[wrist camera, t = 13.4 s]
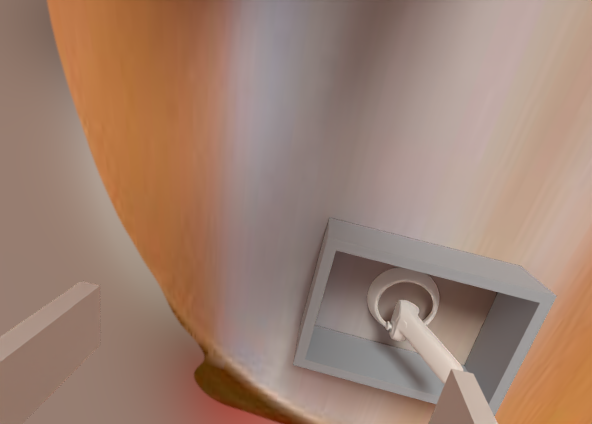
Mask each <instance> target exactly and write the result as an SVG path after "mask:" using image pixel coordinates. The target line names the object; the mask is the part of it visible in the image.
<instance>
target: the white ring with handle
mask: <svg viewBox="0 0 592 424" xmlns="http://www.w3.org/2000/svg"><path fill="white" fill-rule="evenodd" d="M401 282H411V283H415V284H418V285H420V286H422V287H423V288H425V289H426V290H427V291H428V293H429V294H430V296H431V298H432V301H433V307H432V310H431V312H430V314H429V315H428V316H427V317H426V318H425V319H424V320H423V321H422V320H421V319H420V318H419V316H418V314H419V308H418V307H417V306H416V305H415V304H414V303H411V302H410V301H407V300H398V301H397V303H396V306H395V309H394V312H393V315H392V318H391V322H389V321H387V322H385V321H384V320H383V319H382V318H381V316H380V314H379V311H378V301H379V298H380V296H381V294H382V293H383V292H384V291H385V290H386V289H387V288H388V287H390V286H391V285H394V284H396V283H401ZM367 304H368V308H369V310H370V312H371V314H372V316H373V317H374V318H375V319H376V320H377V321H378V322H379V323H380V324H381V325H383V326H384V327H386V330H387V331H388V330H389V333H390V337H391V338H392V339H394V340H396V341H404V340H406V339H407V340H408V341H409V342H410V344H411V345H412V346H413V347H414V349H415V350H416V351H417V352H418V354H419V355H420V356H421V357H422V358H423V360H424V361H425V362H426V363H427V365H428V366H429V367H430V368H431V370H432V371H433V372H434V373H435V374H436V376H437V377H438V378H439V379H440V380H441V381H442V383H444V384H445V383H446V380H447V378H448V375H449V373H450V371H451V368H452V369H456V370H460V371H463V368H462V366H461V365H460V363H459V362H458V361H457V360H456V359H455V357H454V356H453V355H452V354H451V353H450V352H449V351H448V349H447V348H446V347H445V346H444V345H443V344H442V343H441V342H440V340H439V339H438V338H437V337H436V336H435V335H434V334H433V333H432V331H431V330H430V329H429V328H428V327H427V325H428V324H429V323H430V322H431V321H432V319H433V318H434V317H435V315H436V312H437V310H438V306H439V291H438V288H437V286H436V284H435V282H434V281H433V280H432V278H431V277H430V276H428V275H427V274H425V273H422V272H418V271H414V270H410V269H406V268H402V267H397V268H392V269H389V270H387V271H384V272H383V273H381V274H380V275H379V276H377V277H376V278H375V279H374V281H373V282H372V284H371V285H370V287H369V290H368V294H367Z"/></svg>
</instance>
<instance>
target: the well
mask: <svg viewBox="0 0 592 424" xmlns="http://www.w3.org/2000/svg"><path fill="white" fill-rule="evenodd" d="M336 251H340V252H344V253H348V254H352V255H355V256H359V257H363V258H367V259H371V260H375V261H379V262H383V263H387V264H390V265H394V266H398V267H402V268H406V269H410V270H414V271H418V272H422V273H425V274H429V275H433V276H437V277H441V278H445V279H449V280H453V281H456V282H460V283H464V284H468V285H472V286H476V287H480V288H484V289H488V290H491V291H495V292H498V293H497V295H496V298H495V300H494V302H493V304H492V306H491V308H490V311H489V313H488V315H487V317H486V319H485V322H484V324H483V326H482V328H481V330H480V333H479V335H478V337H477V339H476V341H475V343H474V346H473V348H472V350H471V352H470V354H469V357H468V359H467V361H466V363H465V365H461V366H462V368H463V371H464V372H469V373H473V374H474V376H475V378H476V380H477V382H478V384H479V386H480V388H481V390H482V392H483V395H484V397H485V399H486V401H487V403H488V405H489V407H490V409H491V411H492V413H493V415H494V416H495V414H496V412H497V410H498V409H499V407H500V405H501V403H502V401H503V399H504V397H505V395H506V393H507V391H508V389H509V387H510V385H511V383H512V382H513V380H514V378H515V376H516V374H517V372H518V370H519V368H520V366H521V364H522V362H523V360H524V358H525V356H526V354H527V353H528V351H529V349H530V347H531V345H532V343H533V341H534V339H535V337H536V335H537V333H538V331H539V329H540V327H541V325H542V324H543V322H544V320H545V318H546V316H547V314H548V312H549V310H550V308H551V306H552V304H553V302H554V300H555V298H556V295H555V294H554V293H553V292H551V291H550V290H549V289H548V288H547V287H545V286H544V285H543V284H542V283H541V282H539V281H538V280H537V279H536V278H535V277H533V276H532V275H531V274H530V273H529V272H527V271H526V270H525V269H524V268H523V267H521V266H519V265H515V264H511V263H507V262H503V261H499V260H495V259H491V258H487V257H483V256H479V255H475V254H471V253H467V252H463V251H459V250H455V249H452V248H448V247H444V246H440V245H436V244H432V243H428V242H424V241H420V240H416V239H412V238H408V237H404V236H400V235H396V234H392V233H388V232H384V231H380V230H376V229H372V228H369V227H365V226H361V225H357V224H353V223H349V222H345V221H341V220H337V219H333V218H329V221H328V225H327V228H326V232H325V236H324V240H323V243H322V247H321V251H320V254H319V258H318V262H317V265H316V269H315V273H314V277H313V280H312V284H311V288H310V291H309V295H308V299H307V302H306V306H305V310H304V314H303V317H302V321H301V325H300V328H299V334H298V339H297V345H296V351H295V356H294V362H293V365H295V366H298V367H302V368H306V369H309V370H313V371H317V372H320V373H324V374H328V375H331V376H335V377H338V378H342V379H346V380H349V381H353V382H357V383H360V384H364V385H368V386H371V387H375V388H378V389H382V390H386V391H389V392H393V393H397V394H400V395H404V396H408V397H411V398H415V399H418V400H422V401H426V402H429V403H433V404H437V402H438V399H439V397H440V395H441V392H442V390H443V387H444V385H445V384H444V383H442V381H441V380H440V379H439V378H438V377H437V376H436V374H435V373H434V372H433V371H432V370H431V368H430V367H429V366H428V365H427V363H426V362H425V361H424V360H423V358H422V357H421V356H420V355H419V354H418V353H416V352H412V351H408V350H405V349H401V348H397V347H393V346H390V345H386V344H382V343H378V342H375V341H371V340H367V339H364V338H360V337H356V336H352V335H349V334H345V333H341V332H338V331H334V330H330V329H326V328H323V327H319V326H315V323H316V319H317V316H318V312H319V309H320V305H321V302H322V298H323V295H324V291H325V288H326V284H327V281H328V277H329V274H330V270H331V267H332V263H333V260H334V256H335V253H336Z"/></svg>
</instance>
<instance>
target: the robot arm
mask: <svg viewBox="0 0 592 424" xmlns="http://www.w3.org/2000/svg"><path fill="white" fill-rule="evenodd" d="M99 346H100V285H95V284H91V283H87V282H83V281H80V282H79V283H78V284H76V285H75V286H73V287H72V288H70V289H69V290H67V291H66V292H65V293H63V294H62V295H61V296H59V297H57V298H56V299H54V300H53V301H52V302H50V303H49V304H47V305H46V306H44V307H43V308H41V309H40V310H39V311H37V312H36V313H34V314H33V315H31V316H30V317H28V318H27V319H26V320H24V321H22V322H21V323H20V324H18V325H17V326H15V327H14V328H12V329H11V330H9V331H8V332H7V333H5V334H4V335H2V336H1V337H0V424H23V423H24V422H25V421H26V420H27V419H28V417H30V416H31V414H32V413H33V412H35V411H36V410H37V409H38V408H39V406H40V405H41V404H42V403H43V402H44V401H45V400H46V399H47V398H48V397H49V396H50V395H51V394H52V393H53V392H54V391H55V390H56V389H57V388H58V387H59V386H60V385H61V384H62V383H63V382H64V381H65V380H66V379H67V378H68V377H69V376H70V375H71V374H72V373H73V372H74V371H75V370H76V369H77V368H78V367H79V366H80V365H81V364H82V363H83V362H84V361H85V360H86V359H87V358H88V357H89V356H90V355H91V354H92V353H93V352H94V351H95V350H96V349H97V348H98V347H99ZM429 424H498V423H497V421H496V419H495V417H494V415H493V413H492V411H491V409H490V407H489V405H488V403H487V401H486V399H485V397H484V395H483V392H482V390H481V388H480V386H479V384H478V382H477V380H476V378H475V376H474V374H473V373H469V372H464V371H460V370H456V369H452V368H451V371H450V373H449V375H448V378H447V380H446V383H445V385H444V387H443V390H442V392H441V395H440V397H439V399H438V402H437V404H436V407H435V409H434V412H433V414H432V416H431V419H430V421H429Z"/></svg>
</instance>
